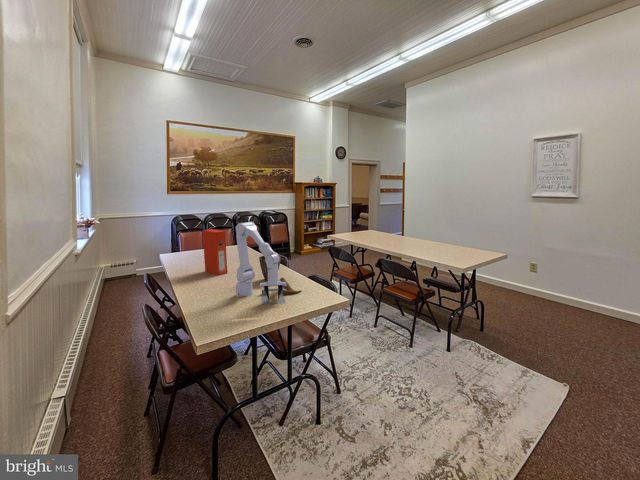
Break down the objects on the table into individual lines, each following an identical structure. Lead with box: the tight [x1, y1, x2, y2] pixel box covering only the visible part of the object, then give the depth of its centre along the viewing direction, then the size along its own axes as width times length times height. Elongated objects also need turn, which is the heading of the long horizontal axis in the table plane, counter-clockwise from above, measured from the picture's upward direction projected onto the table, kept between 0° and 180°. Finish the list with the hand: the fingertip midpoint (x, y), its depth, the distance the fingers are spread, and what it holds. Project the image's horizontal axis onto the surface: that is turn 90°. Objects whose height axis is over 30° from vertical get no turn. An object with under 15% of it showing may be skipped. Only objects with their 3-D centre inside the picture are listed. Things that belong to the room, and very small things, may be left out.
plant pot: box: [258, 255, 282, 282], centre depth 214 cm, size 15×15×16 cm
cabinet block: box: [269, 291, 278, 303], centre depth 172 cm, size 5×6×5 cm
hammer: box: [279, 277, 302, 296], centre depth 197 cm, size 12×3×30 cm
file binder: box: [202, 228, 228, 276], centre depth 230 cm, size 8×17×32 cm, turn 51°
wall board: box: [261, 287, 286, 306], centre depth 177 cm, size 13×18×4 cm
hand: (273, 298), depth 172 cm, fingers closed on cabinet block, 5 cm apart
